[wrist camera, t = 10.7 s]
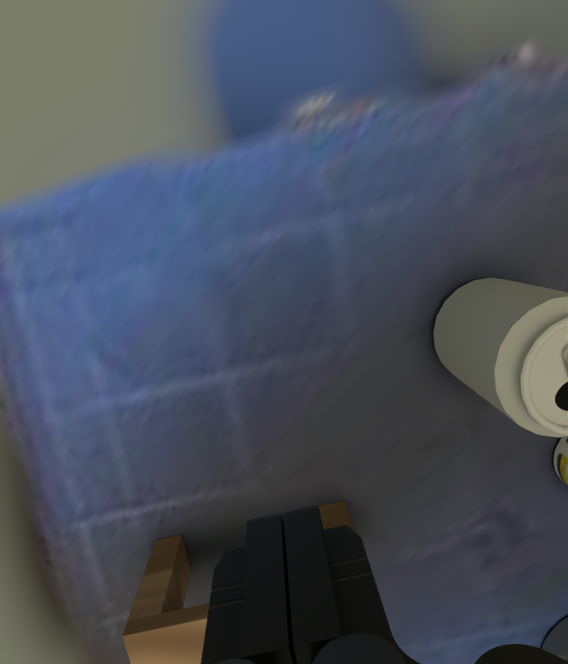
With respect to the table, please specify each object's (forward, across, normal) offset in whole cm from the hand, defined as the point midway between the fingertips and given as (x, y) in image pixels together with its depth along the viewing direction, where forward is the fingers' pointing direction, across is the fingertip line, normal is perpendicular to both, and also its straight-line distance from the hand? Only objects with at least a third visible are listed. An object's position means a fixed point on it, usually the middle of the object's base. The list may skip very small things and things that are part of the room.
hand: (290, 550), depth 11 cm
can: (+25, -14, +3) cm, 29 cm away
